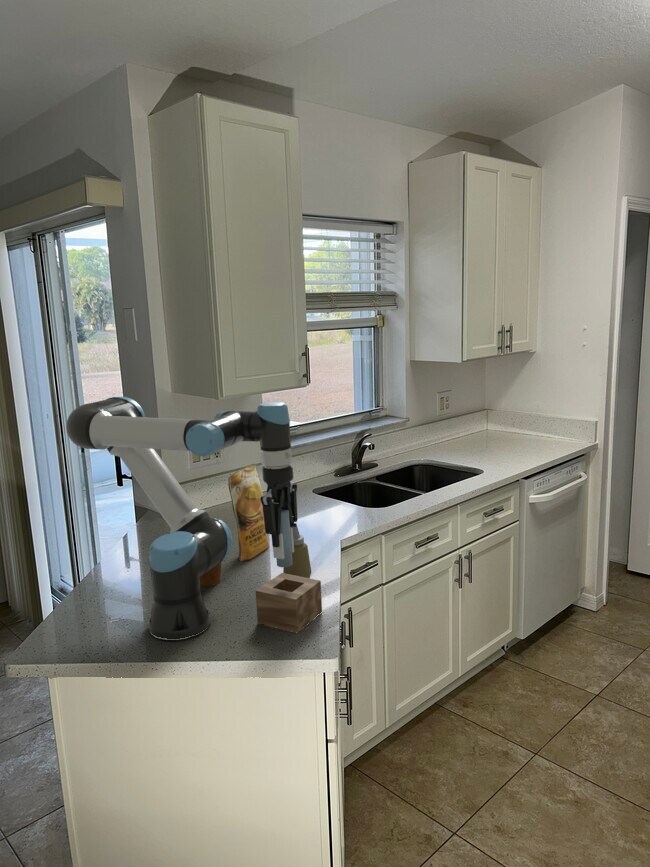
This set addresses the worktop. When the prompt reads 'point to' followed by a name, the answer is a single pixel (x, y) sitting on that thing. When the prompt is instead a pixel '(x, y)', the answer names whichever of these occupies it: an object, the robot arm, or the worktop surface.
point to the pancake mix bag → (248, 512)
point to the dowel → (285, 540)
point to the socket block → (288, 602)
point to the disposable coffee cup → (211, 576)
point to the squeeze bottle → (299, 557)
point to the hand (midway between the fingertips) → (284, 554)
